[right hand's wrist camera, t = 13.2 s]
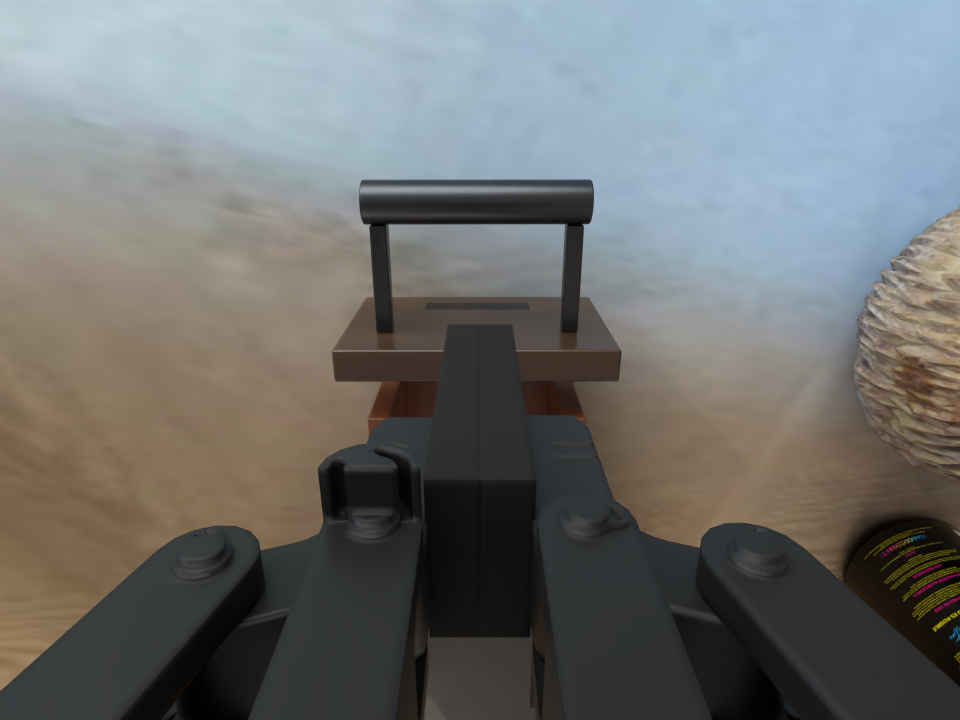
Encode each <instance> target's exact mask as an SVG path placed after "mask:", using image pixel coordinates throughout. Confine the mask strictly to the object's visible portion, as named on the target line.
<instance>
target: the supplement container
mask: <svg viewBox="0 0 960 720" xmlns="http://www.w3.org/2000/svg"><path fill="white" fill-rule="evenodd" d="M842 579H843V583H844V584H845V585H846V586H847V587H848V588H849V589H850V590H852V591H853V592H854V593H855V594H856V595H857V596H858V597H859V598H861V599H862V600H863V601H864V602H865V603H866V604H867V605H868V606H870V607H871V608H872V609H873V610H874V611H875V612H876V613H877V614H879V615H880V616H881V617H882V618H883V619H884V620H885V621H886V622H888V623H889V624H890V625H891V626H892V627H893V628H894V629H895V630H897V631H898V632H899V633H900V634H901V635H902V636H903V637H904V638H906V639H907V640H908V641H909V642H910V643H911V644H912V645H913V646H915V647H916V648H917V649H918V650H919V651H920V652H921V653H922V654H923V655H925V656H926V657H927V658H928V659H929V660H930V661H931V662H932V663H934V664H935V665H936V666H937V667H938V668H939V669H940V670H941V671H943V672H944V673H945V674H946V675H947V676H948V677H949V678H950V679H952V680H953V681H954V682H955V683H956V684H957V685H958V686H959V687H960V531H959V530H958V529H957V528H956V527H954V526H953V525H951V524H949V523H947V522H945V521H942V520H939V519H936V518H932V517H926V516H905V517H898V518H894V519H891V520H887V521H885V522H882V523H880V524H878V525H876V526H874V527H873V528H871V529H869V530H868V531H867V532H865V533H864V534H863V535H862V536H861V537H859V538H858V539H857V541H856V542H855V543H854V544H853V545H852V547H851V548H850V550H849V552H848V554H847V556H846V558H845V561H844V564H843V570H842Z"/></svg>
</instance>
